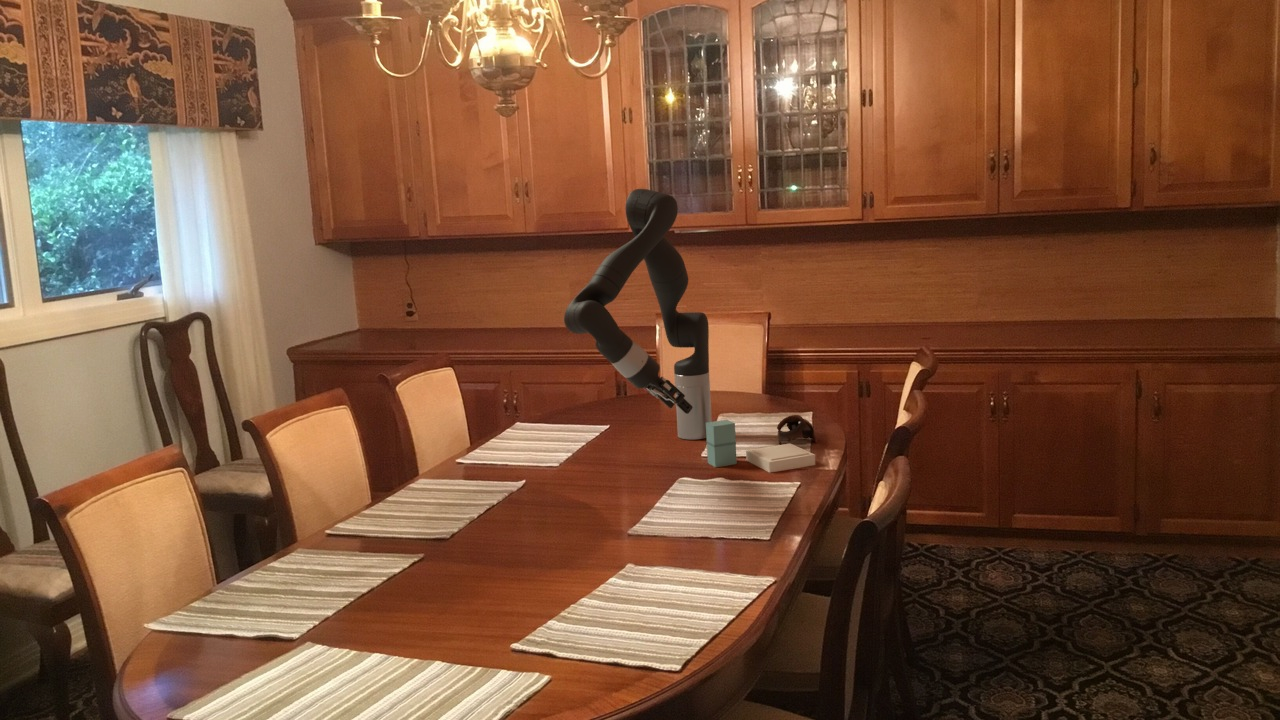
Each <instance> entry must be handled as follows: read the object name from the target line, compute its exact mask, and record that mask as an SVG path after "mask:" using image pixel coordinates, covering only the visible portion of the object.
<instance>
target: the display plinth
mask: <svg viewBox="0 0 1280 720" xmlns="http://www.w3.org/2000/svg"><path fill="white" fill-rule="evenodd" d="M745 455H746V457H745V459H746V461H747V462H749V463H750V464H752V465H754V466H756V467H757V468H760V469H761V470H764V471H766V472H768V473H769V474H771V473H777V472H781V471H788V470H793V469H800V468H804V467H805V468H806V467H810V466H811V467H812V466H816V454H814V453H812V452H810V451H808V450H805V449H804V448H801V447H799V446H797V445H795V444H792V443H786V444H785V443H784V444H781V445H780V444H778V445H773V446H768V447H767V446H765V447H760V448H753V449H747V450H745Z"/></svg>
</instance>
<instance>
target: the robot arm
mask: <svg viewBox="0 0 1280 720" xmlns="http://www.w3.org/2000/svg"><path fill="white" fill-rule="evenodd" d="M625 201H626V202H625V216H626V220H627V223H628V225H629V228H630V230H631V233H632V234H633V237H634V238H632V239H631V240H630V241H628V242H626V243H625V244H623V245H622V246H620V247H619V248H616V249H615V250H614V251H612V252H610V253H609V254H608V255H607V256H606V257H605V258H604V259H603V260H602V262H601V263H600V264H599V266H598V268H597V269H596V271H595V272H594V274H593V275H592V277H591V278H590V280H589V282H588V283H587V284H586V285H585V286H584V287H583V288H582V289H581V290H580V292H578V294H577V295H576V296H575V297H574V298H573V299H572V300H571V302H570V303H569V305H568V306H567V307H566V310H565V312H564V315H563V316H564V318H563V322H564V325H565V327H566V329H567V330H568V331H569V332H570V333H571V334H577V335H579V334H580V335H581V334H590V335H591V336H592V337H593V338H594V339H595V345H594V346H595V348H596V350H597V351H598V352H599V353H600V354H601V355H602V356H603V357H604V358H605V359H606V360H607V361H609V362H610V364H611V365H612V367H614V368H615V370H617V372H619V374H620V375H621V376H623V377H624V378H625V379H626V380H627V381H628V382H629V383H630V384H631V385H633V387H635V388H636V389H639V390H642V389H645V390H646V391H647V392H648V393H649V394H650V396H653V397H655V398H656V399H659V400H660V401H661V402H662V403H663V404H664V405H665V406H667V408H669V409H672V408H673V407H674V406H675V407H676V409H675V410H676V425H677V427H676V429H677V437H678V438H679V439H683V440H701V439H707V436H706V423H708V422H713V421H712V406H711V405H712V402H711V382H710V355H709V354H710V353H709V342H710V341H709V340H710V329H709V321H708V317H707V315H706V314H705V313H704V312H702V311H701V312H698V311H697V312H693V311H692V312H690V311H689V312H679V311H677V306H678V305H679V302H680V301H681V299H682V298H683V296H684V294H685V292H686V290H687V288H688V285H689V275H688V271H687V267H686V264H685V262H684V259H683V257H682V255H681V254H680V252H679V251H678V250H677V249H676V247H675V246H674V245H673V244H672V243H671V242H670V241H669V240H668V239H667V238H666V237H665V236H666V235H667V233H668V232H669V231H670V230H671V228H672V227H673V226H674V223H675V222H676V220H677V216H678V209H679V208H678V207H679V206H678V202H677V200H676V198H675V197H674V196H672V195H671V194H667V193H665V192H659V191H654V190H651V189H648V188H636V189H634V190H632V191H631V192H629V194H628V196H627V198H626V200H625ZM643 261H644V263H645V265H646V269H647V272H648V276H649V279H650V282H651V285H652V288H653V291H654V293H655V296H656V299H657V302H658V305H659V308H660V312H661V313H660V314H661V317H662V322H663V326H664V331H665V336H666V338H667V341H668V343H669V345H670V346H671V347H673V348H684V349H685V348H686V349H688V348H694V352H693V354H691V355H690V356H688V357H686V358H682V359H680V360H677V361H676V362H675V363H674V365H673V371H674V384H673V383H672V382H671V381H670V380H669V379H666V378H665V377H664V376H661V377H660V376H659V372H660V370H661V366H660V364H659V363H658V361H656V360H655V359H654V358H653V357H652V356H651V355H650V354H649V353H648V352H647V351H646V350H644V349H643V348H642V347H641V346H640V345H639V344H638V343H636V342H635V341H634V340H632V339H631V337H630V336H628V334H626V333H625V332H624V331H623V330H622V329H621V328H620V327H619V326H618V323H617V322H616V321H615V318H614V317H613V315H611V312H610V311H609V310H608V309H607V308H606V307H605V306H606V305H608V304H610V303H612V302H613V301H614V300H615V299H617V297H618V295H619V294H620V292H621V291H622V289H623V288H624V286H625V285H626V283H627V281H628V279H629V278H630V277H631V276H632V274H633V273H634V271H635V270H636V268H638V266H639V265H640V263H641V262H643Z"/></svg>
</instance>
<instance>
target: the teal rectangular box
mask: <svg viewBox="0 0 1280 720" xmlns="http://www.w3.org/2000/svg"><path fill="white" fill-rule="evenodd" d="M706 436H707V438H706V452H707V464H709V465H710V466H713V467H714V468H719V467H725V466H732V465H736V464H738V463H737V462H738V460H737V441H736V439H737V437H736V423H735V422H733V421H731V420H728V419H723V420H722V419H721V420H715V421H712V422H708V423H706Z"/></svg>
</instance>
